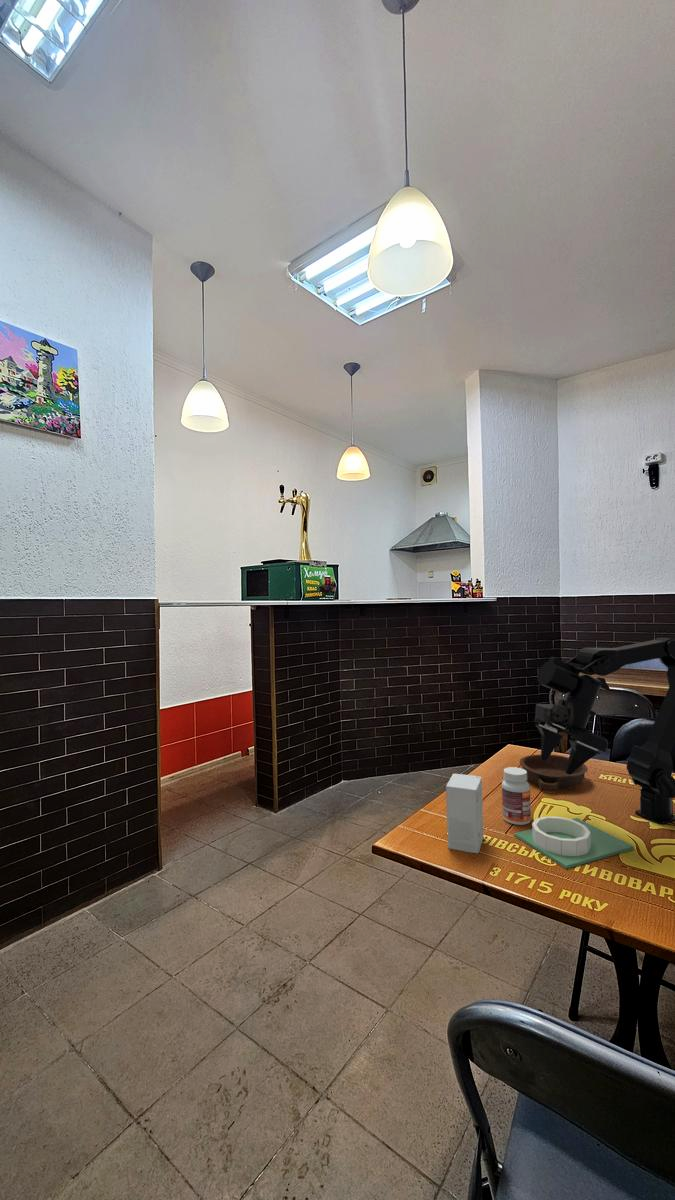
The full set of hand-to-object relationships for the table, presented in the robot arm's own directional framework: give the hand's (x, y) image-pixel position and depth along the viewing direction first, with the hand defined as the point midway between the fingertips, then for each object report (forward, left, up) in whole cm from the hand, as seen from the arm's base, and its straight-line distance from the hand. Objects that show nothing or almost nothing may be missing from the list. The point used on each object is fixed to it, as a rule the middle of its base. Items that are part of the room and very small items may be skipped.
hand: (554, 766), depth 108 cm
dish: (-21, -22, -14) cm, 33 cm away
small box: (+22, -3, -14) cm, 26 cm away
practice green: (+2, +6, -14) cm, 15 cm away
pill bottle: (+5, -7, -14) cm, 16 cm away
